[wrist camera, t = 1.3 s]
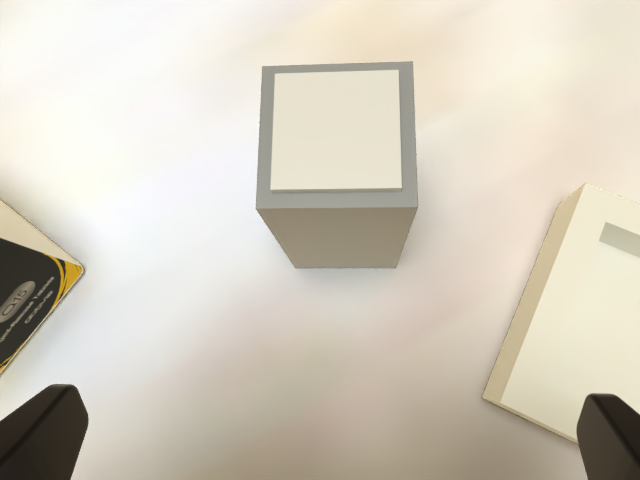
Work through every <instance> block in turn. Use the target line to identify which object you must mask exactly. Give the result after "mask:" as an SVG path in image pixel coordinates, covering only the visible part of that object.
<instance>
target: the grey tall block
mask: <svg viewBox="0 0 640 480" xmlns="http://www.w3.org/2000/svg"><path fill="white" fill-rule="evenodd" d="M417 208H418V195H417V166H416V137H415V108H414V79H413V61H412V62H381V63H350V64H319V65H288V66H262V85H261V107H260V128H259V150H258V172H257V193H256V210H257V211H258V213H259V214H260V216H261V217H262V219H263V220H264V222H265V223H266V225H267V226H268V228H269V229H270V231H271V232H272V234H273V235H274V237H275V238H276V240H277V241H278V243H279V244H280V246H281V247H282V249H283V250H284V252H285V253H286V255H287V256H288V258H289V259H290V261H291V262H292V264H293V265H294V267H295V268H396V265H397V263H398V260H399V257H400V254H401V252H402V249H403V246H404V243H405V241H406V238H407V235H408V233H409V230H410V227H411V224H412V222H413V219H414V216H415V214H416V211H417Z"/></svg>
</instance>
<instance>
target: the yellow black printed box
mask: <svg viewBox="0 0 640 480" xmlns="http://www.w3.org/2000/svg"><path fill="white" fill-rule="evenodd" d="M82 273H83V267H82V266H81V264H80V263H78V262H77V261H76V260H75V259H73V258H72V257H71V256H70V255H68V254H67V253H66V252H65V251H63V250H62V249H61V248H60V247H59V246H57V245H56V244H55V243H54V242H52V241H51V240H50V239H49V238H47V237H46V236H45V235H44V234H42V233H41V232H40V231H39V230H37V229H36V228H35V227H34V226H32V225H31V224H30V223H29V222H27V221H26V220H25V219H24V218H22V217H21V216H20V215H19V214H17V213H16V212H15V211H14V210H12V209H11V208H10V207H9V206H7V205H6V204H5V203H4V202H3V201H1V200H0V373H1V372H2V371H3V370H4V369H5V367H6V366H7V365H8V364H9V362H10V361H11V360H12V359H13V358H14V356H15V355H16V354H17V353H18V352H19V350H20V349H21V348H22V347H23V345H24V344H25V343H26V342H27V341H28V339H29V338H30V337H31V336H32V334H33V333H34V332H35V331H36V330H37V328H38V327H39V326H40V325H41V324H42V322H43V321H44V320H45V319H46V317H47V316H48V315H49V314H50V313H51V311H52V310H53V309H54V308H55V307H56V305H57V304H58V303H59V302H60V300H61V299H62V298H63V297H64V296H65V294H66V293H67V292H68V291H69V289H70V288H71V287H72V286H73V285H74V283H75V282H76V281H77V280H78V279H79V277H80V276H81V275H82Z"/></svg>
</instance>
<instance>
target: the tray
mask: <svg viewBox="0 0 640 480" xmlns="http://www.w3.org/2000/svg"><path fill="white" fill-rule="evenodd" d="M591 393H610V394H614V395H616V396H618V397H619V398H621V399H622V400H623V401H624V402H626V403H627V404H628V405H629V406H630V407H632V408H633V409H634V410H635V411H636V412H638V413H639V414H640V204H638V203H636V202H633V201H631V200H628V199H625V198H623V197H620V196H618V195H615V194H613V193H610V192H608V191H605V190H602V189H600V188H597V187H595V186H592V185H590V184H587V183H585V184H584V185H582V186H581V187H580V188H579V189H577V190H576V191H575V192H574V193H572V194H571V195H570V196H569V197H568V198H566V199H565V200H564V201H563V202H561V203H560V204H559V205H558V207H557V210H556V212H555V215H554V217H553V220H552V222H551V225H550V227H549V230H548V232H547V235H546V237H545V240H544V243H543V245H542V248H541V250H540V253H539V255H538V258H537V260H536V263H535V265H534V268H533V270H532V273H531V275H530V278H529V280H528V283H527V285H526V288H525V290H524V293H523V295H522V298H521V300H520V303H519V305H518V308H517V310H516V313H515V315H514V318H513V320H512V323H511V325H510V328H509V330H508V333H507V335H506V338H505V340H504V343H503V345H502V348H501V350H500V353H499V355H498V358H497V360H496V363H495V365H494V368H493V371H492V373H491V376H490V378H489V381H488V383H487V386H486V388H485V391H484V393H483V396H482V398H483V399H485V400H488V401H490V402H492V403H494V404H496V405H498V406H500V407H502V408H504V409H506V410H508V411H510V412H512V413H514V414H517V415H519V416H521V417H523V418H525V419H527V420H529V421H531V422H533V423H535V424H537V425H539V426H541V427H544V428H546V429H548V430H550V431H552V432H554V433H556V434H558V435H560V436H562V437H564V438H566V439H568V440H571V441H573V442H575V443H577V444H578V440H577V434H576V427H577V422H578V419H579V416H580V413H581V410H582V407H583V404H584V401H585V398H586V396H587V395H589V394H591Z"/></svg>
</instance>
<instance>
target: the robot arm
mask: <svg viewBox="0 0 640 480" xmlns="http://www.w3.org/2000/svg"><path fill="white" fill-rule="evenodd" d="M87 427H88V413H87V411H86V408H85V406H84V403H83V401H82V399H81V396H80V394H79V391H78V389H77V388H76V387H75V386H74V385H71V384H53V385H50V386H48V387H47V388H45V389H44V390H42V391H41V392H40V393H38V394H37V395H35V396H34V397H33V398H31V399H30V400H29V401H27V402H26V403H24V404H23V405H22V406H20V407H19V408H18V409H16V410H15V411H13V412H12V413H11V414H9V415H8V416H7V417H5V418H4V419H3V420H1V421H0V480H70V479H71V476H72V473H73V470H74V467H75V464H76V461H77V458H78V455H79V452H80V449H81V446H82V443H83V440H84V437H85V434H86V431H87ZM576 434H577V440H578V444H579V447H580V451H581V455H582V459H583V462H584V466H585V470H586V473H587V477H588V480H640V414H639V413H638V412H636V411H635V410H634V409H633V408H632V407H630V406H629V405H628V404H627V403H626V402H624V401H623V400H622V399H621V398H619V397H618V396H616V395H614V394H610V393H591V394H589V395H587V396H586V398H585V401H584V404H583V407H582V410H581V413H580V416H579V419H578V422H577V427H576Z"/></svg>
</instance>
